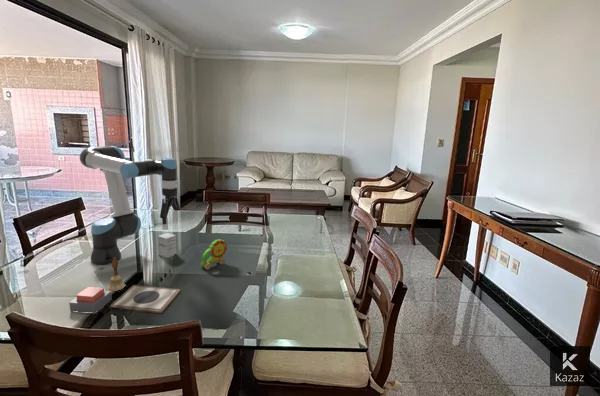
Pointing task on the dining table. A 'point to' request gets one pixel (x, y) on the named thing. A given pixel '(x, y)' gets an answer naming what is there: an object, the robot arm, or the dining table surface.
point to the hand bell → (115, 278)
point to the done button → (90, 294)
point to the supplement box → (167, 245)
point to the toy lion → (214, 254)
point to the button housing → (90, 303)
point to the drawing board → (146, 298)
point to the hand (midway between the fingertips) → (170, 225)
